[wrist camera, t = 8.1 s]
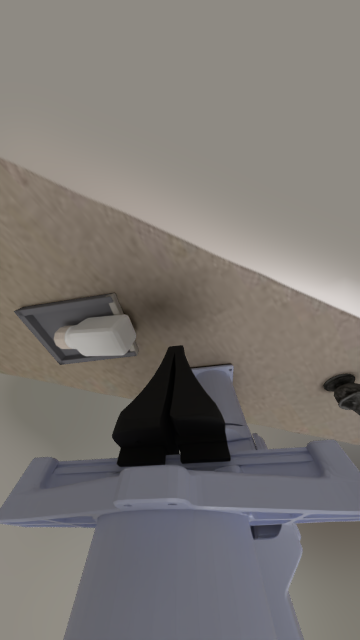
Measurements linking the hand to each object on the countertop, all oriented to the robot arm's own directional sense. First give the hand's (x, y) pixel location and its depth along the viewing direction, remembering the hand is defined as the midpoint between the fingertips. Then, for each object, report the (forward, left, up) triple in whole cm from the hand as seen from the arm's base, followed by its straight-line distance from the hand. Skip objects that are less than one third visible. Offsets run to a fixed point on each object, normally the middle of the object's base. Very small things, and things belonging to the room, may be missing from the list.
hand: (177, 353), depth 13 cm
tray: (0, +14, -7) cm, 16 cm away
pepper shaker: (0, +6, -4) cm, 7 cm away
